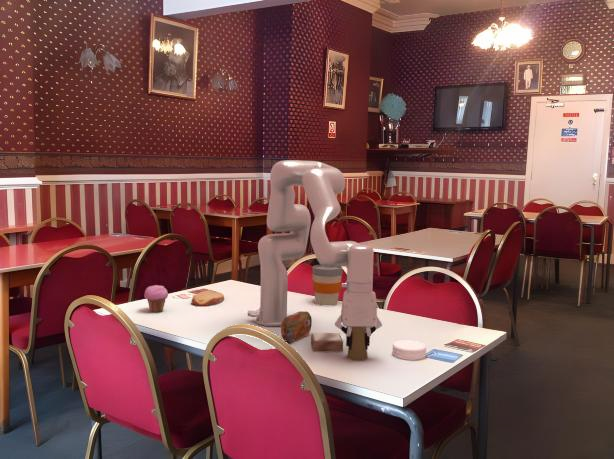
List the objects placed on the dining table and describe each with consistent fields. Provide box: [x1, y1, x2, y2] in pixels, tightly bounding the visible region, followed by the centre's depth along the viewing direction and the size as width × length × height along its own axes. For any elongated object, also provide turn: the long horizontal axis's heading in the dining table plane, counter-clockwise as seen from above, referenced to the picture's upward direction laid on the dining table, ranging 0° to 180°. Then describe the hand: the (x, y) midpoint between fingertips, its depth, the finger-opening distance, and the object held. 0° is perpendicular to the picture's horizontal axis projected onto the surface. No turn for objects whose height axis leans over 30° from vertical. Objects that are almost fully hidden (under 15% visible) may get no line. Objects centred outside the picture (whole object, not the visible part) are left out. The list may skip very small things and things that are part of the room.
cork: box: [346, 327, 368, 362], centre depth 173 cm, size 6×6×11 cm
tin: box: [280, 310, 313, 343], centre depth 191 cm, size 15×3×8 cm, turn 148°
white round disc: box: [392, 339, 427, 361], centre depth 177 cm, size 10×10×4 cm
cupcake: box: [144, 284, 169, 313], centre depth 223 cm, size 9×9×10 cm
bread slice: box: [191, 290, 225, 308], centre depth 242 cm, size 18×18×4 cm
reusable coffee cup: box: [311, 264, 343, 306], centre depth 241 cm, size 13×13×15 cm
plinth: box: [310, 332, 344, 352], centre depth 183 cm, size 9×9×3 cm
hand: (357, 347), depth 173 cm, fingers closed on cork, 4 cm apart
